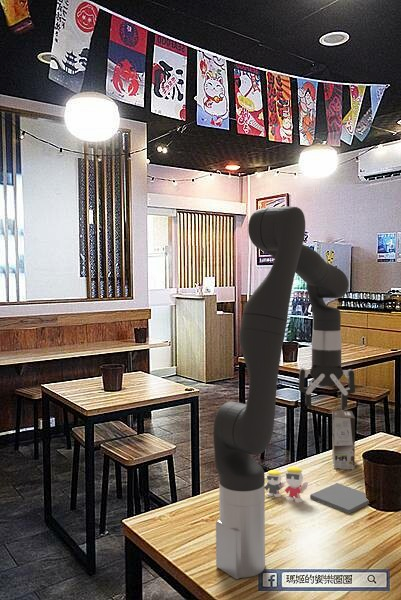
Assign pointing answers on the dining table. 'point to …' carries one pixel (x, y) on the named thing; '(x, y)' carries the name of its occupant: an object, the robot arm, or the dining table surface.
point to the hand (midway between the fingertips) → (326, 408)
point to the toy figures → (293, 480)
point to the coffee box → (343, 439)
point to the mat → (341, 498)
